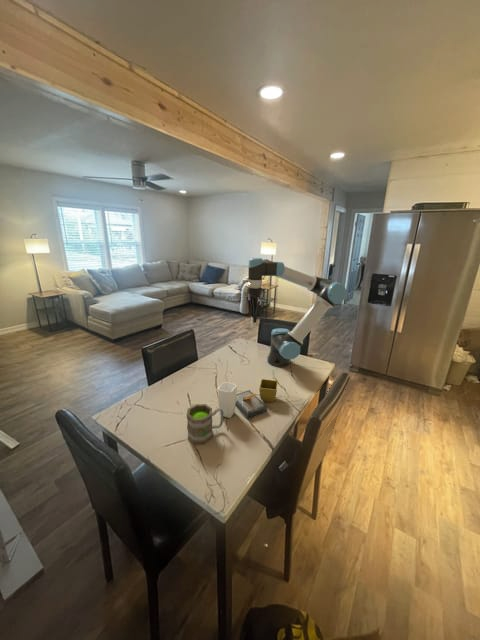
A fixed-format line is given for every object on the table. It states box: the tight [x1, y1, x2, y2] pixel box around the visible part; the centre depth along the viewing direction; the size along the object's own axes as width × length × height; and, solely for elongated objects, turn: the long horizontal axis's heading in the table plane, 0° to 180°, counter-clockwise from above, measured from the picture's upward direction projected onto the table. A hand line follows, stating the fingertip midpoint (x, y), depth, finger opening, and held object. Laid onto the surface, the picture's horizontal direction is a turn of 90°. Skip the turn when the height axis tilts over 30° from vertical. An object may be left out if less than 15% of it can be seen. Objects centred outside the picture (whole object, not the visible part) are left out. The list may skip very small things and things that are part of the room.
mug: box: [186, 403, 224, 446], centre depth 109 cm, size 16×11×12 cm
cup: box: [217, 381, 238, 419], centre depth 121 cm, size 7×7×15 cm
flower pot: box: [259, 378, 279, 403], centre depth 134 cm, size 9×9×9 cm
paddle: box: [242, 393, 257, 400], centre depth 128 cm, size 4×1×7 cm
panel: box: [235, 389, 268, 420], centre depth 129 cm, size 11×16×3 cm
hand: (253, 327), depth 151 cm, fingers closed
